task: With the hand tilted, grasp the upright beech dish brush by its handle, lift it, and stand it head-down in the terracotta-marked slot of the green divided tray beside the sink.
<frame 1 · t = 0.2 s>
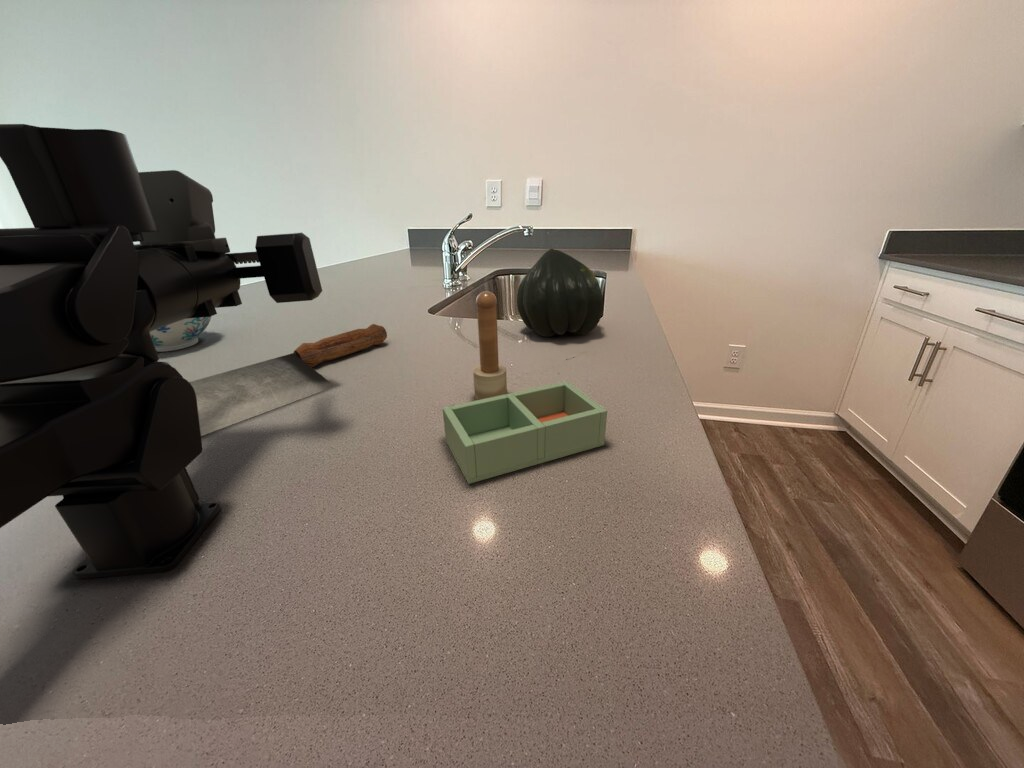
hand: (256, 263, 46), 16 cm above the countertop, tool horizontal, fingers open, 9 cm apart
dish brush: (491, 398, 51), on the countertop
meat cleaver: (299, 382, 57), on the countertop
chinaware: (176, 346, 72), on the countertop
squash: (558, 332, 74), on the countertop
green divided tray: (523, 443, 42), on the countertop
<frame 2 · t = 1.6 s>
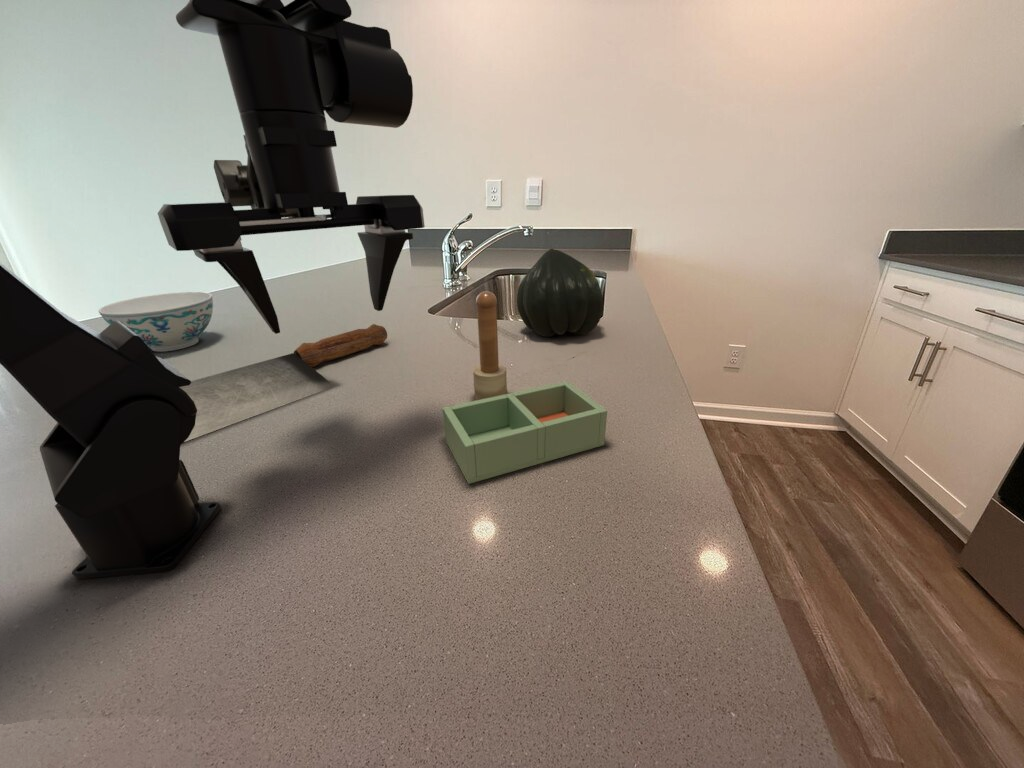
hand: (331, 320, 37), 13 cm above the countertop, tool pointing down, fingers open, 9 cm apart
nothing on the countertop moved.
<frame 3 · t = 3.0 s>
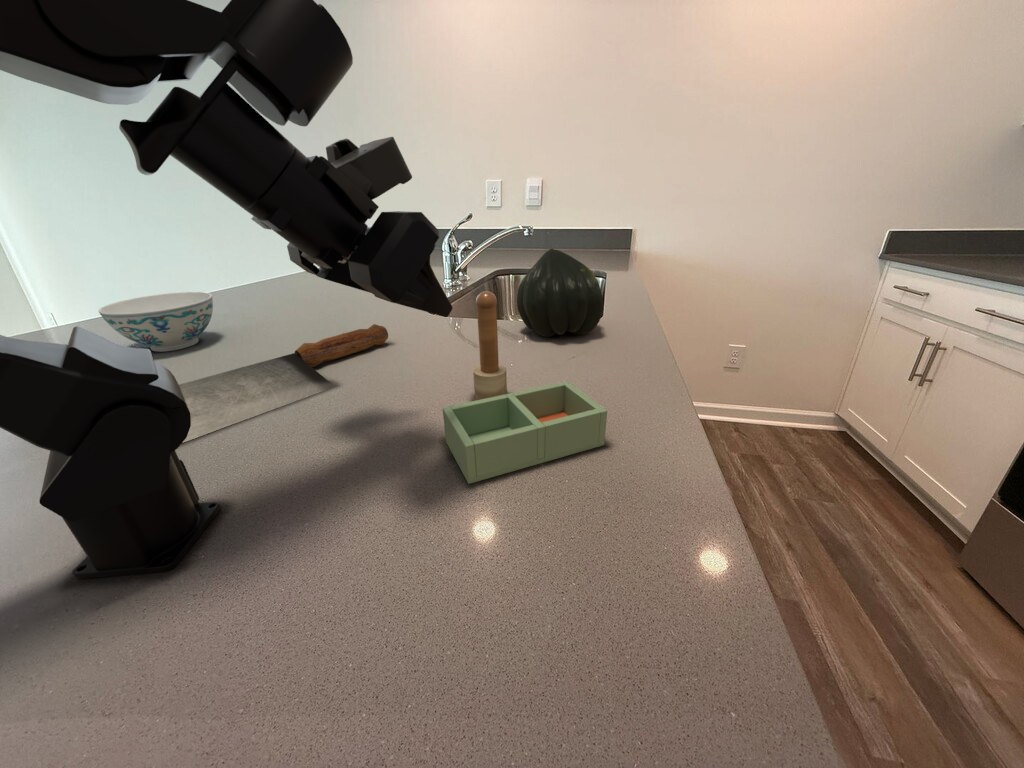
hand: (422, 303, 40), 13 cm above the countertop, tool tilted 45°, fingers open, 9 cm apart
nothing on the countertop moved.
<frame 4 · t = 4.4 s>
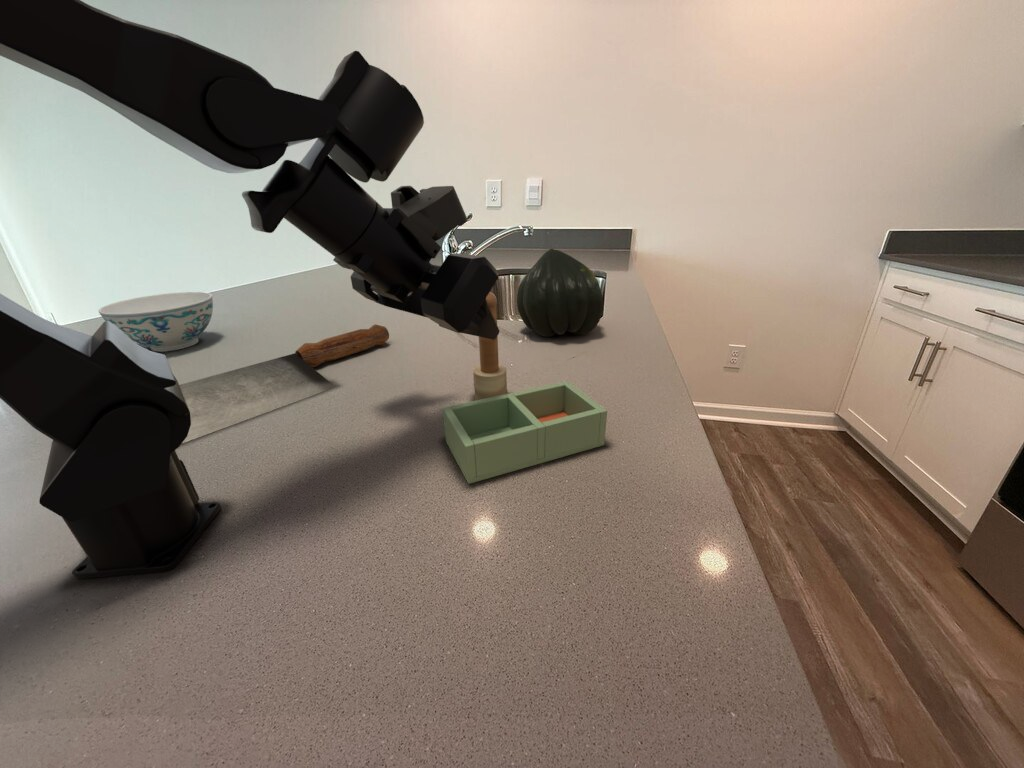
hand: (469, 326, 45), 10 cm above the countertop, tool tilted 45°, fingers open, 9 cm apart
nothing on the countertop moved.
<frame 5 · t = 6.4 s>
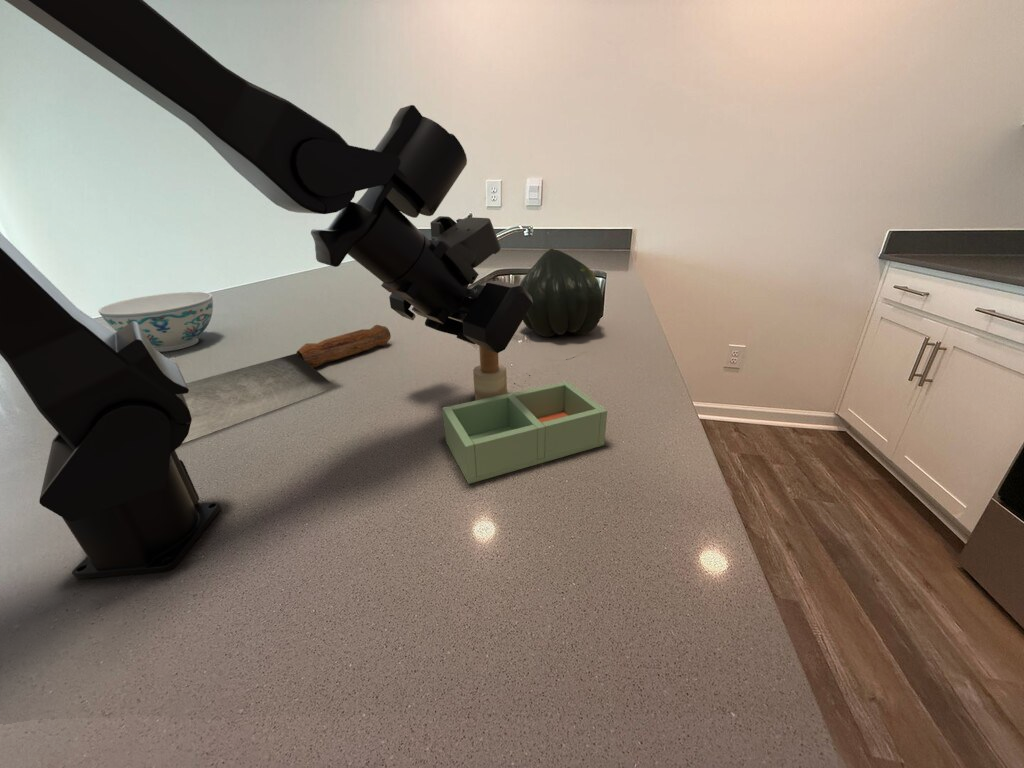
hand: (497, 342, 48), 7 cm above the countertop, tool tilted 45°, fingers closed on dish brush, 2 cm apart
dish brush: (491, 398, 51), on the countertop, touching gripper
everything else where it was.
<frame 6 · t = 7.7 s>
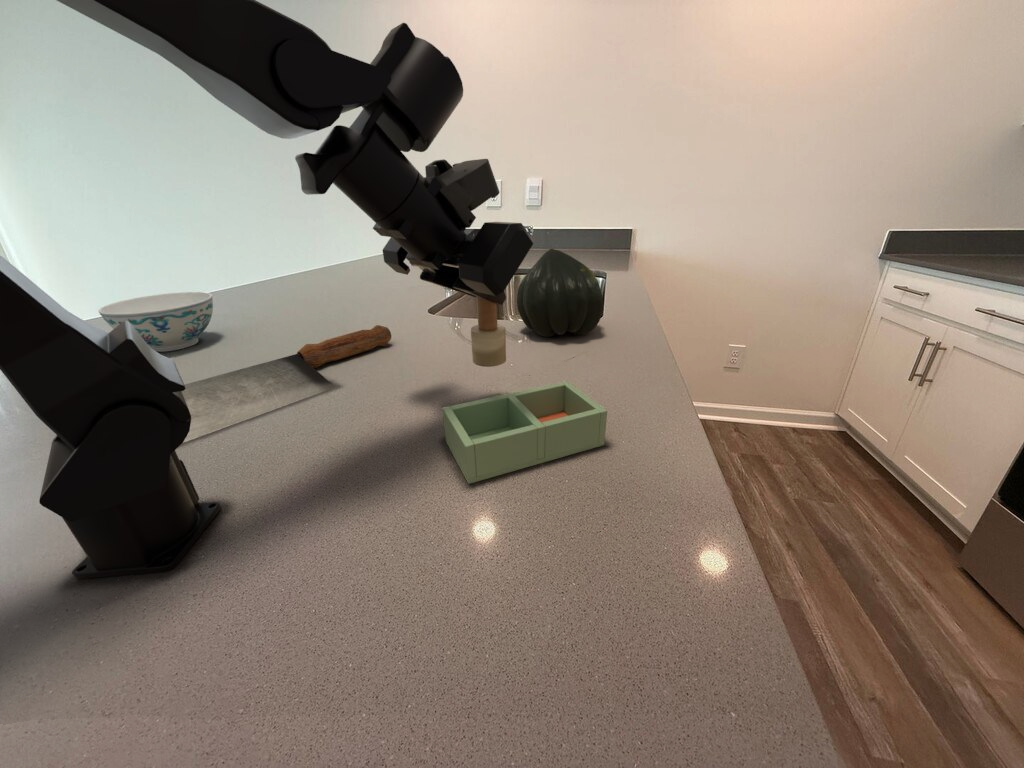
hand: (496, 299, 46), 12 cm above the countertop, tool tilted 45°, fingers closed on dish brush, 2 cm apart
dish brush: (489, 360, 48), point 5 cm above the countertop, touching gripper
everything else where it was.
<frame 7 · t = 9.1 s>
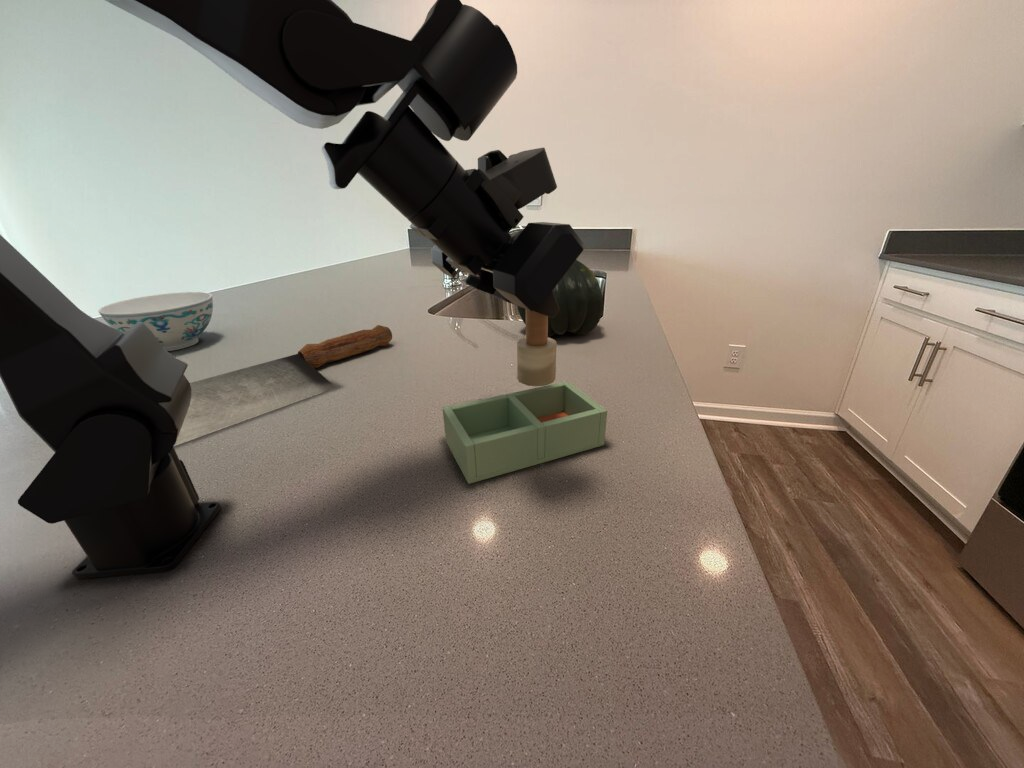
hand: (548, 310, 40), 13 cm above the countertop, tool tilted 45°, fingers closed on dish brush, 2 cm apart
dish brush: (536, 378, 43), point 5 cm above the countertop, touching gripper
everything else where it was.
when the fingers open (8 cm above the countertop, at t = 11.4 s): dish brush stays where it is, resting on green divided tray.
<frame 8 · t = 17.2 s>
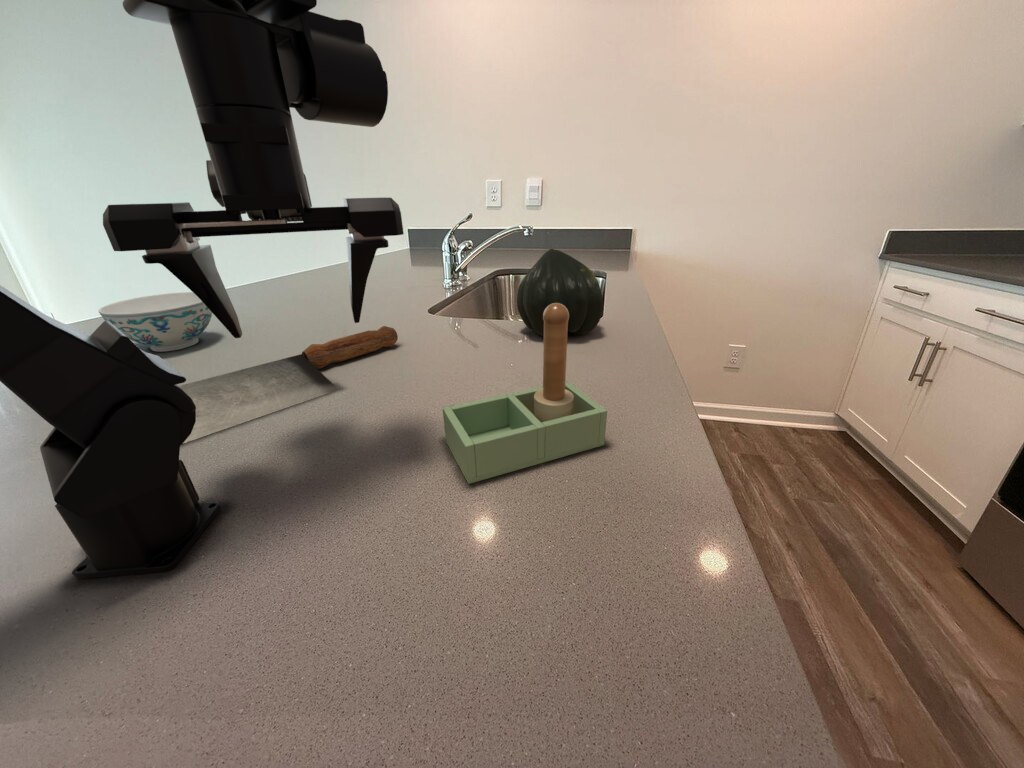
hand: (300, 328, 35), 13 cm above the countertop, tool pointing down, fingers open, 9 cm apart
dish brush: (552, 429, 42), point 1 cm above the countertop, touching green divided tray
at the end: dish brush 0.1 cm from the target spot in the green divided tray, point 0.7 cm above the green divided tray's base; dish brush tilted 0°; the gripper is holding nothing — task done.
